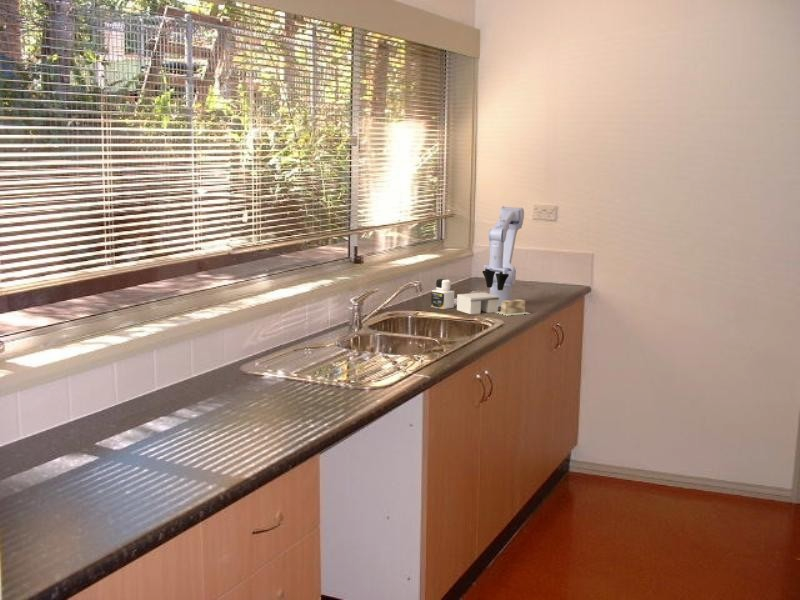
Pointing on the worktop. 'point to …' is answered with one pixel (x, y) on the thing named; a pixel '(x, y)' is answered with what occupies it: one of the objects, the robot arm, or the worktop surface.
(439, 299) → the medicine bottle
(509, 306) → the wooden block
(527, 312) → the mat
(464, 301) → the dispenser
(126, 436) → the worktop surface
